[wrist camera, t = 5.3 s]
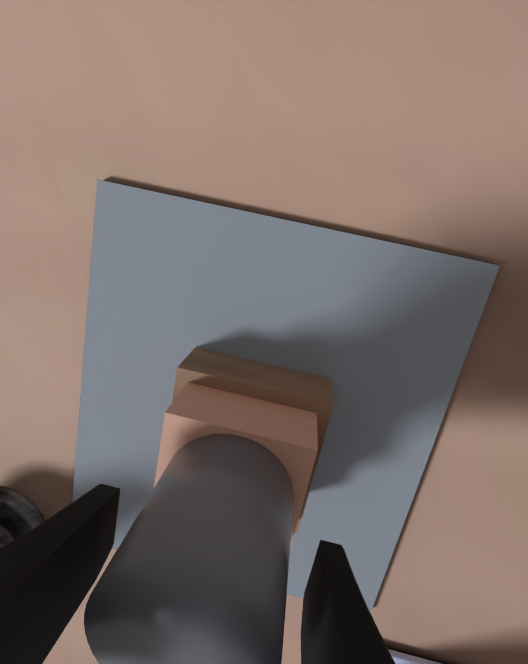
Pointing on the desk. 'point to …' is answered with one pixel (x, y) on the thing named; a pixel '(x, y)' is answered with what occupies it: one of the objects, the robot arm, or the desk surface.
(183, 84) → the desk surface
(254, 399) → the tower middle
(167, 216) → the mat
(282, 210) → the desk surface
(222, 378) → the tower base
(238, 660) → the dark grey cylinder
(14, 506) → the salt shaker
